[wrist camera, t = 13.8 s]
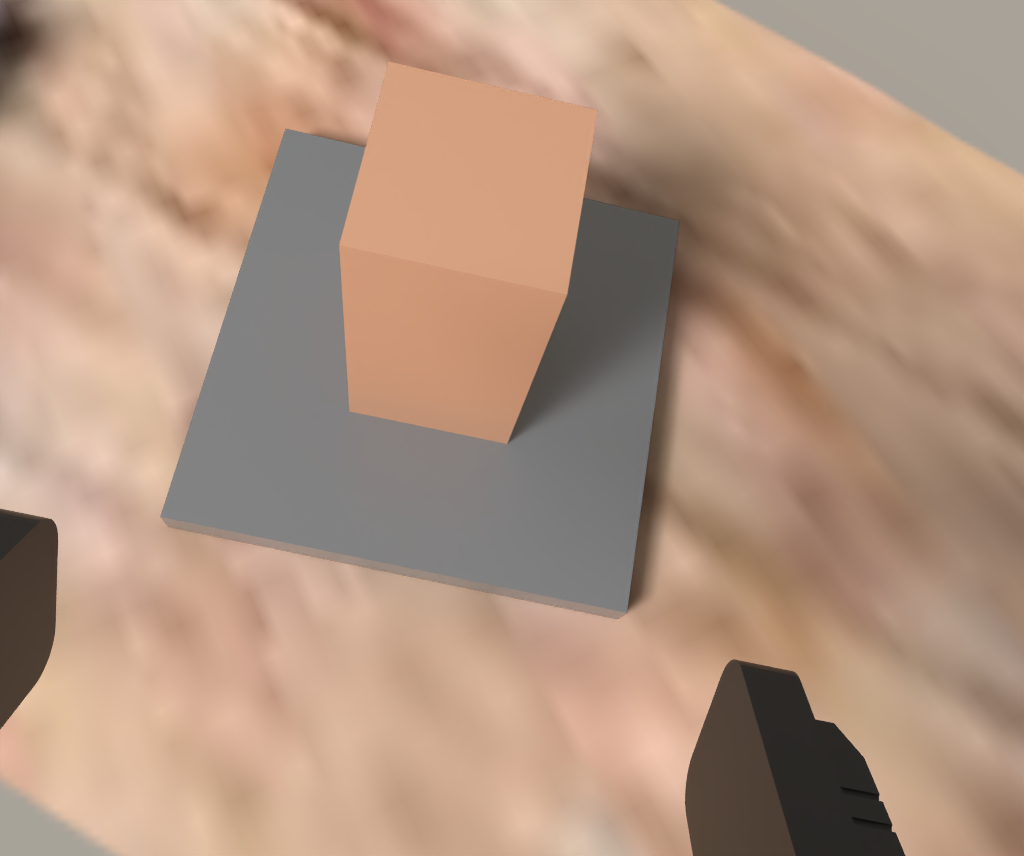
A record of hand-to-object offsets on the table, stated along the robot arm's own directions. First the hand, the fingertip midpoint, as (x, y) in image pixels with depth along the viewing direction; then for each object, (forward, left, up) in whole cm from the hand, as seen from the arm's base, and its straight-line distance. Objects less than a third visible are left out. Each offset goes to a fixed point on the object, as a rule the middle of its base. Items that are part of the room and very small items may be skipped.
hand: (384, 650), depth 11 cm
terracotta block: (0, -11, -17) cm, 20 cm away
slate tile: (0, -11, -18) cm, 21 cm away
